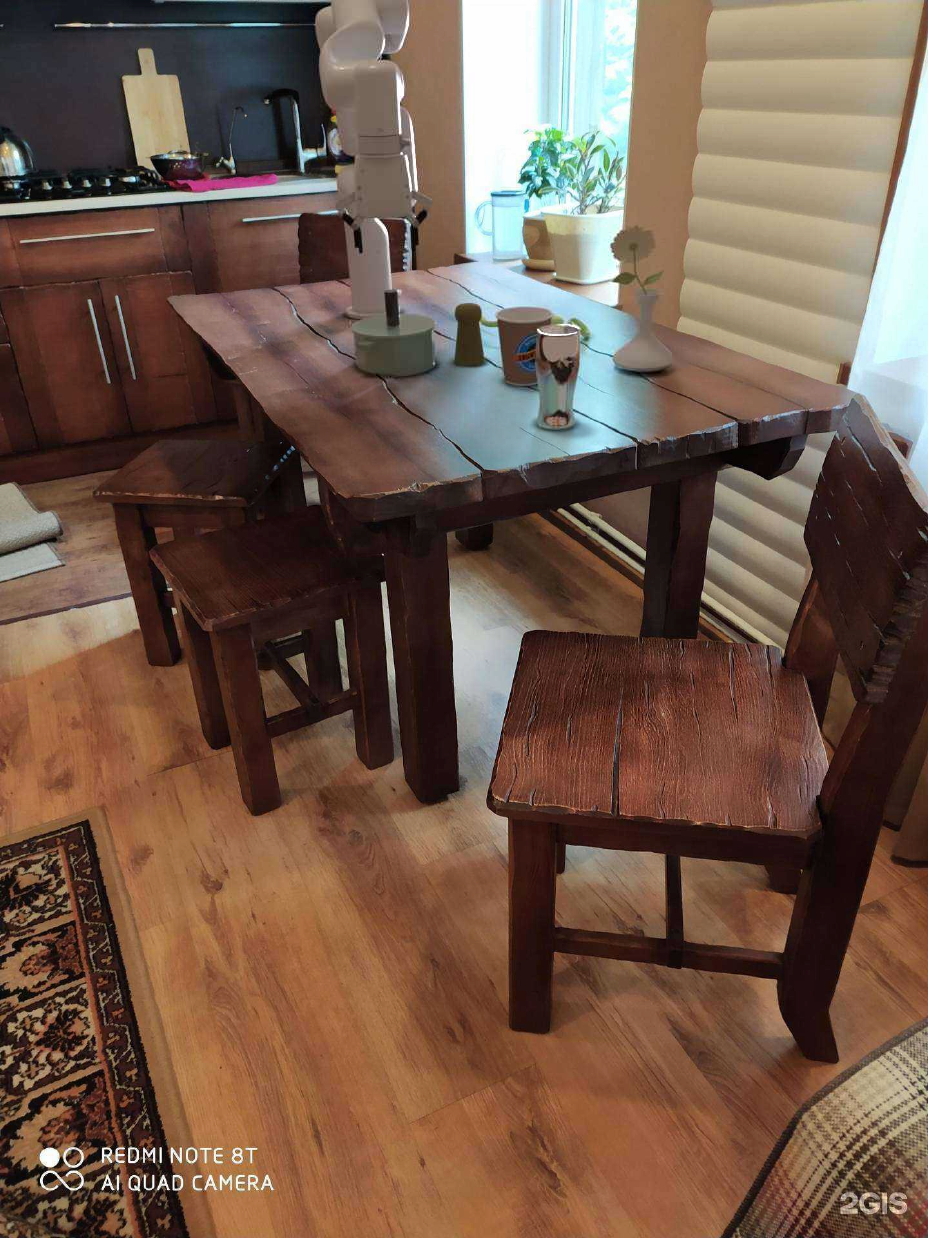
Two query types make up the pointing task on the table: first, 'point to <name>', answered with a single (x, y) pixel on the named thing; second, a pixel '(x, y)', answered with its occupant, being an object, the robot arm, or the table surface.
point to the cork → (468, 335)
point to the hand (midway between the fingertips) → (387, 250)
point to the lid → (393, 322)
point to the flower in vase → (640, 304)
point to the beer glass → (557, 374)
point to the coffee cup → (520, 342)
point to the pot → (395, 354)
